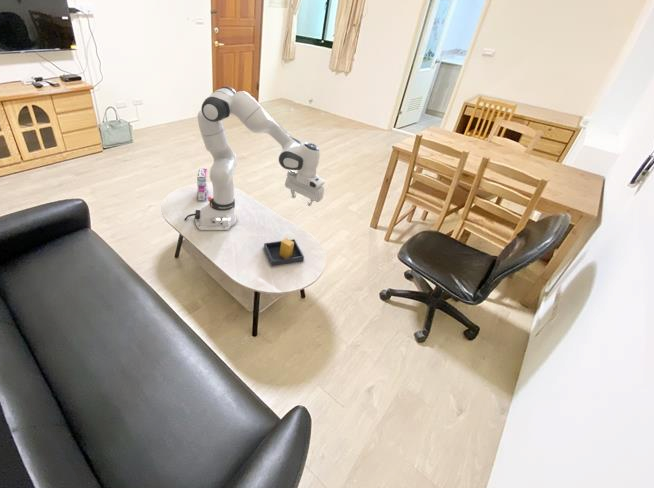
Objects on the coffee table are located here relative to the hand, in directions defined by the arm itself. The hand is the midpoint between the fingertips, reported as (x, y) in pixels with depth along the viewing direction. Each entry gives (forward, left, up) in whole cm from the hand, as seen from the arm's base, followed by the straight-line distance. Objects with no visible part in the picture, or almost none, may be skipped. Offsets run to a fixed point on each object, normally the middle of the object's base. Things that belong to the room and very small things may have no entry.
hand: (301, 201), depth 163 cm
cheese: (-9, -11, -24) cm, 28 cm away
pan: (-10, -10, -25) cm, 29 cm away
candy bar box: (-42, +50, -25) cm, 70 cm away
